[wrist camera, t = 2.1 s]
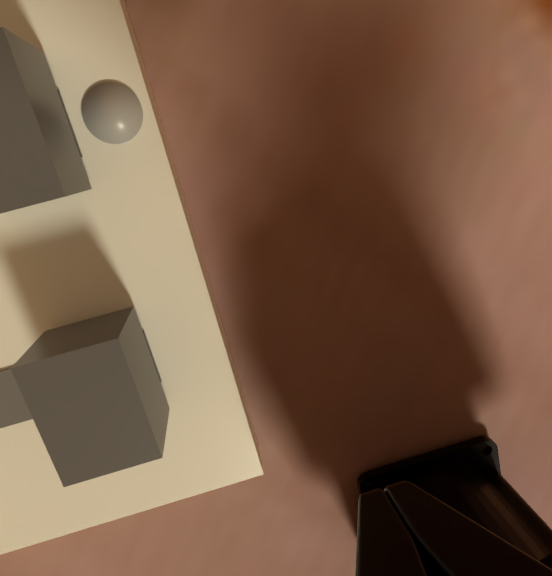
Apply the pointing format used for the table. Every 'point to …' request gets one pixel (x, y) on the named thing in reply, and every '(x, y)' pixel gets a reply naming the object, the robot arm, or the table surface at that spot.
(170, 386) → the switch board
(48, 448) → the grey block
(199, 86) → the table surface
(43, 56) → the dark grey box
